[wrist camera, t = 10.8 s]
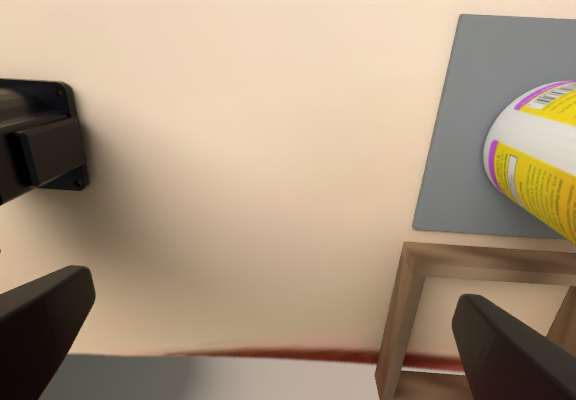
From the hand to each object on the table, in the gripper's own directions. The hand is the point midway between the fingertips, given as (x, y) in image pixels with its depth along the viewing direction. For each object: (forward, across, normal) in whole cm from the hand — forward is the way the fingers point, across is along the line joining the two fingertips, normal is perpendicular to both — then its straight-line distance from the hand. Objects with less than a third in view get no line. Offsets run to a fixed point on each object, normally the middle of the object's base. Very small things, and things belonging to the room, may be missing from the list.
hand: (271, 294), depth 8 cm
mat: (+13, -14, -2) cm, 19 cm away
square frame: (+13, -14, +12) cm, 23 cm away
